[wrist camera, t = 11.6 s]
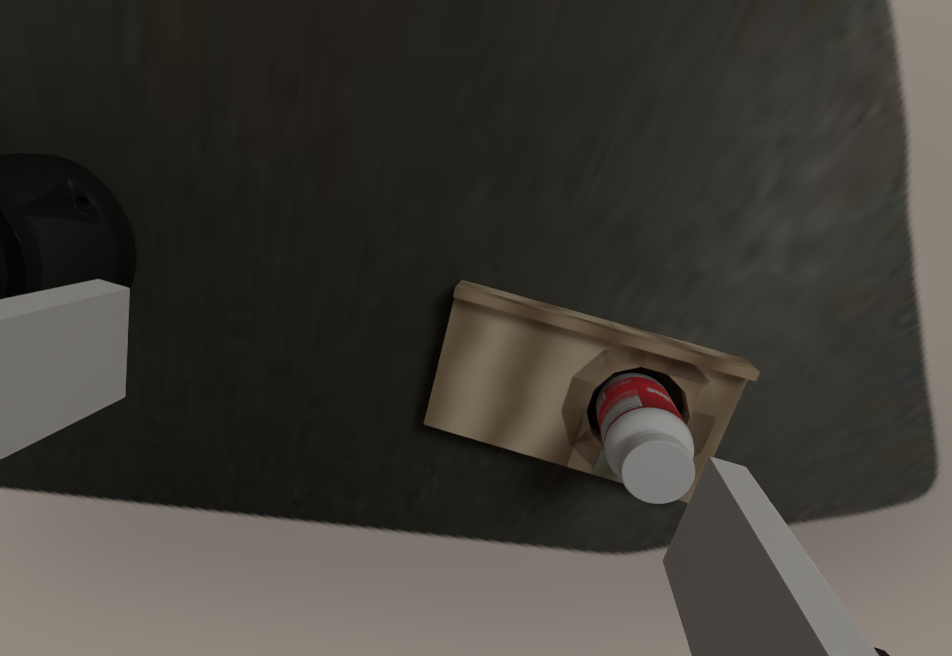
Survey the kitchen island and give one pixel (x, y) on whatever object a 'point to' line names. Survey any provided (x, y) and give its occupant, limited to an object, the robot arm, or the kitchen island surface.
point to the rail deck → (565, 378)
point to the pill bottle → (645, 438)
